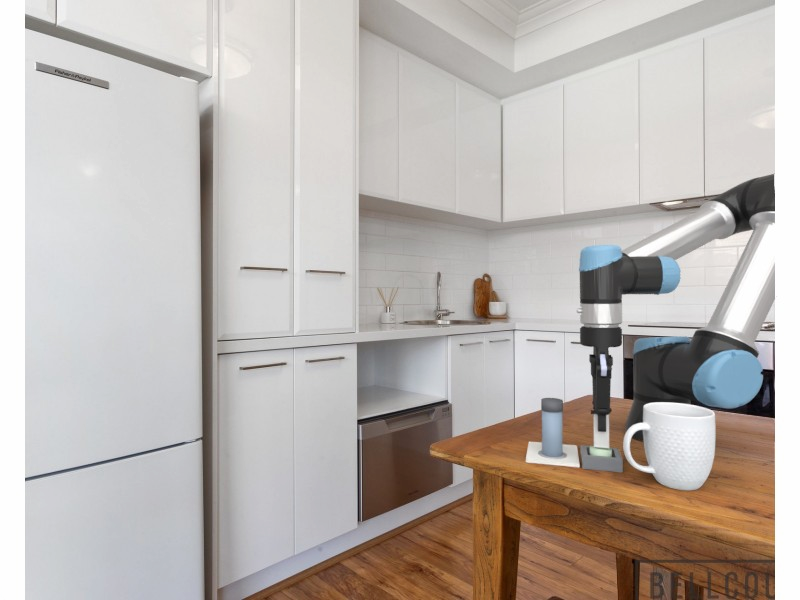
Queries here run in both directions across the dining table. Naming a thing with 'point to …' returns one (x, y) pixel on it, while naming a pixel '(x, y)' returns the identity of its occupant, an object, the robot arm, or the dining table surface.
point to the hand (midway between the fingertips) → (601, 446)
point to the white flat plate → (566, 459)
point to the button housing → (601, 460)
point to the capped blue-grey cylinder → (552, 427)
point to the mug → (676, 443)
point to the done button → (600, 451)
